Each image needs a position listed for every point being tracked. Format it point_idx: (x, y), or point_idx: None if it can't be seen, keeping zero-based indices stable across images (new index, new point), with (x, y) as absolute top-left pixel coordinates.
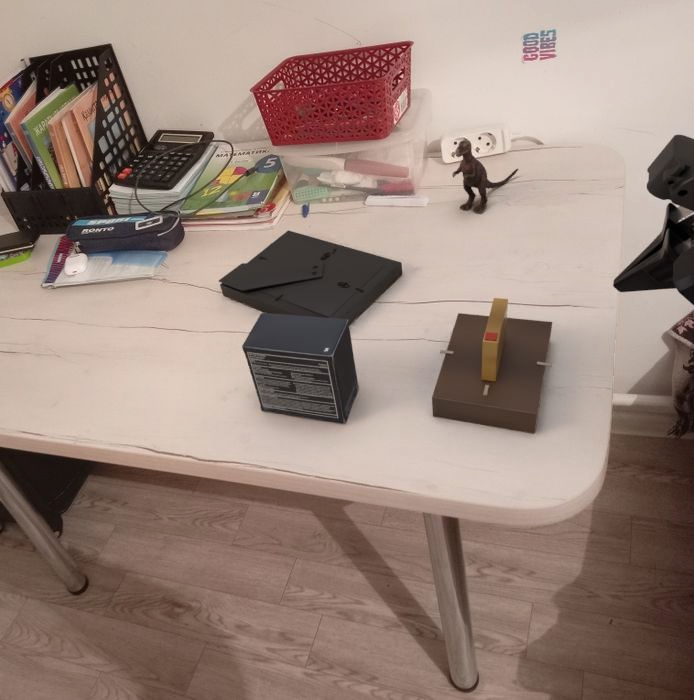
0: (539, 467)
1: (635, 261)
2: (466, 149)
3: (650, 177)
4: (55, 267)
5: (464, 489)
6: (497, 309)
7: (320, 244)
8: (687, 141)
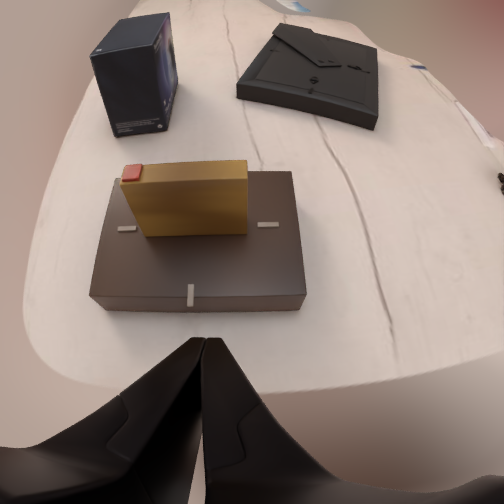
0: (60, 318)
1: (225, 382)
2: None
3: None
4: None
5: (36, 250)
6: (211, 168)
7: (370, 64)
8: None
